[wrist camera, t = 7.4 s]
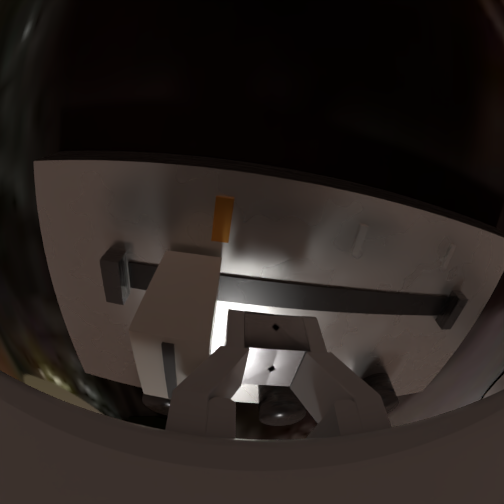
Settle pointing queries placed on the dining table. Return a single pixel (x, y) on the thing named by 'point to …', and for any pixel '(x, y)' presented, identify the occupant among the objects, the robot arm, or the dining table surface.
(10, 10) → the dining table surface
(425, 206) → the console
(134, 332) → the fader
